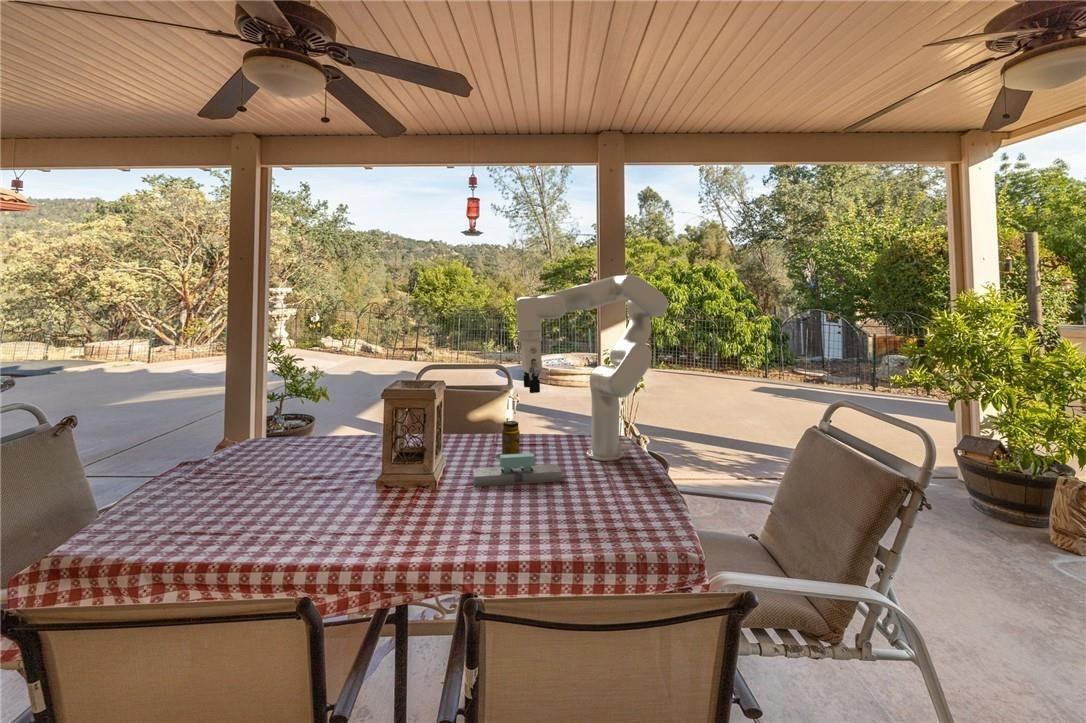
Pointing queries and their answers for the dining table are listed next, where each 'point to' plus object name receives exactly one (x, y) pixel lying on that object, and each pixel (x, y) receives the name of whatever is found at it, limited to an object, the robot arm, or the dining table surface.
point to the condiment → (510, 438)
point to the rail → (516, 475)
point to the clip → (516, 461)
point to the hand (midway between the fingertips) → (531, 389)
